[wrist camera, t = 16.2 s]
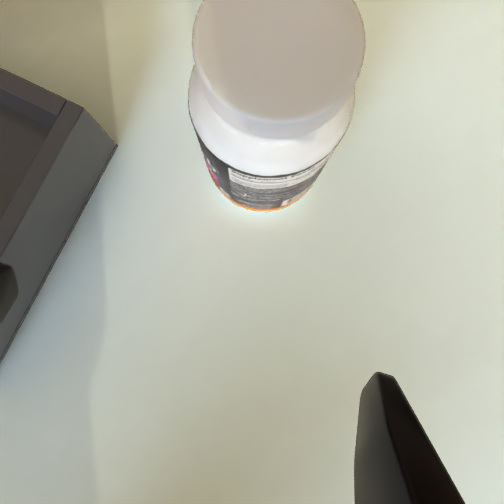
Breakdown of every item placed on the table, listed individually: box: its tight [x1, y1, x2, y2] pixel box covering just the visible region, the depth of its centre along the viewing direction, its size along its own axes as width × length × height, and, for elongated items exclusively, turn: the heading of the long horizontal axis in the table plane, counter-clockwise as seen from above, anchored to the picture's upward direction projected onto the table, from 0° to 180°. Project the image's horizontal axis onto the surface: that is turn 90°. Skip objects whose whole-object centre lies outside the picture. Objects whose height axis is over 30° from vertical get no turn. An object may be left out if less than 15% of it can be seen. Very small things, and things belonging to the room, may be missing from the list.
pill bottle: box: [188, 0, 365, 212], centre depth 15 cm, size 6×6×10 cm
